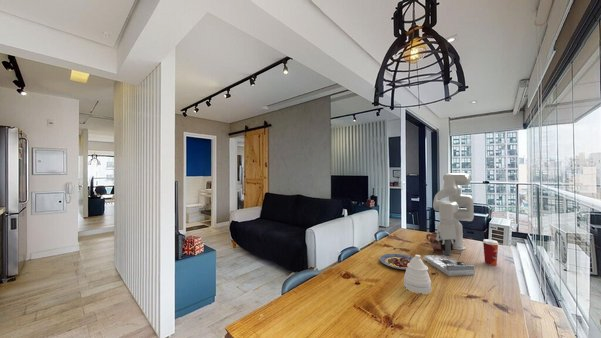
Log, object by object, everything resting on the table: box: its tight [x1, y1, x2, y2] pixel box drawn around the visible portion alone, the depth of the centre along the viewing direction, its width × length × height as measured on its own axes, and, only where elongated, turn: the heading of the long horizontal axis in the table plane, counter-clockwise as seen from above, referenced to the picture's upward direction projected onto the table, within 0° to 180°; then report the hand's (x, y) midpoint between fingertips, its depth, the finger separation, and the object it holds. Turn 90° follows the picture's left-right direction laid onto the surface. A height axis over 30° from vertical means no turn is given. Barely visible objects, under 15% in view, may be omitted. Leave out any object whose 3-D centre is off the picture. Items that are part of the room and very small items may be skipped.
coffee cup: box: [482, 238, 499, 266], centre depth 151 cm, size 8×8×15 cm
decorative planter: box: [425, 231, 443, 255], centre depth 173 cm, size 20×12×14 cm, turn 31°
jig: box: [423, 254, 475, 277], centre depth 146 cm, size 24×16×5 cm, turn 4°
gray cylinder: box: [442, 240, 452, 257], centre depth 146 cm, size 4×4×10 cm
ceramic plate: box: [379, 253, 414, 270], centre depth 152 cm, size 26×26×3 cm
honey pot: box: [403, 254, 432, 295], centre depth 121 cm, size 13×13×18 cm
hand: (446, 249), depth 146 cm, fingers closed on gray cylinder, 4 cm apart
